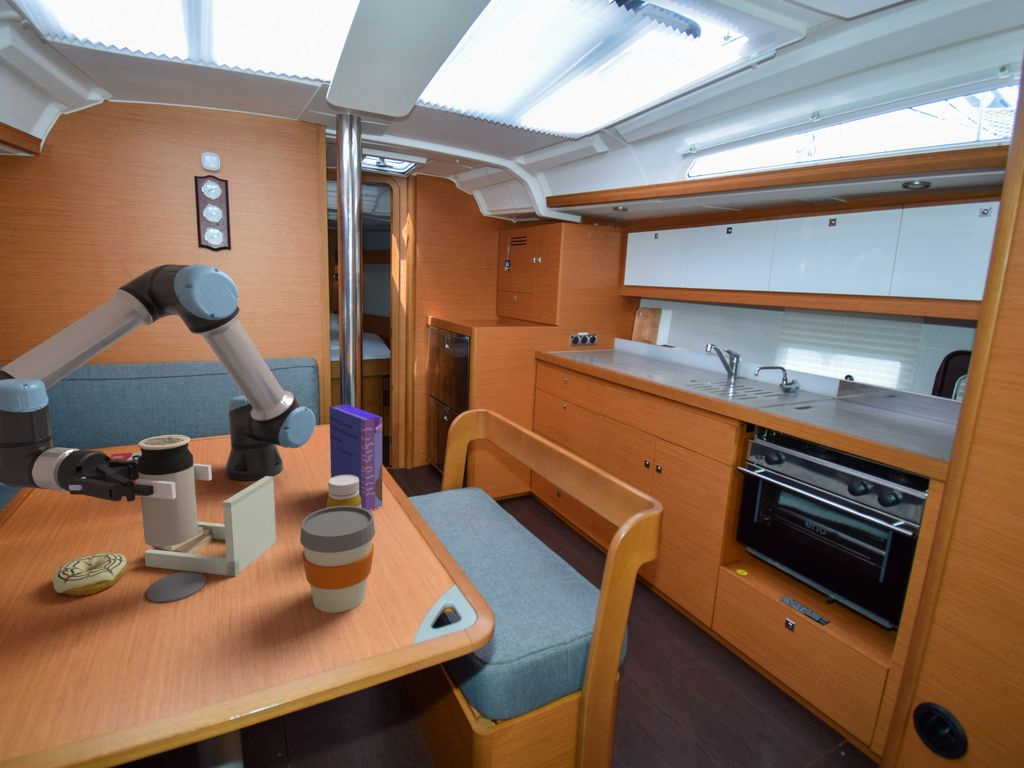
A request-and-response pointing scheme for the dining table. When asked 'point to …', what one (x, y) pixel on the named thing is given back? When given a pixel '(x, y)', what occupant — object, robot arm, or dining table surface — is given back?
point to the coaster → (176, 587)
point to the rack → (231, 534)
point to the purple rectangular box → (357, 450)
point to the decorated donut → (89, 574)
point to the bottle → (344, 491)
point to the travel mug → (175, 464)
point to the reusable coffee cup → (338, 556)
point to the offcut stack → (190, 543)
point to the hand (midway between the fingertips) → (192, 481)
